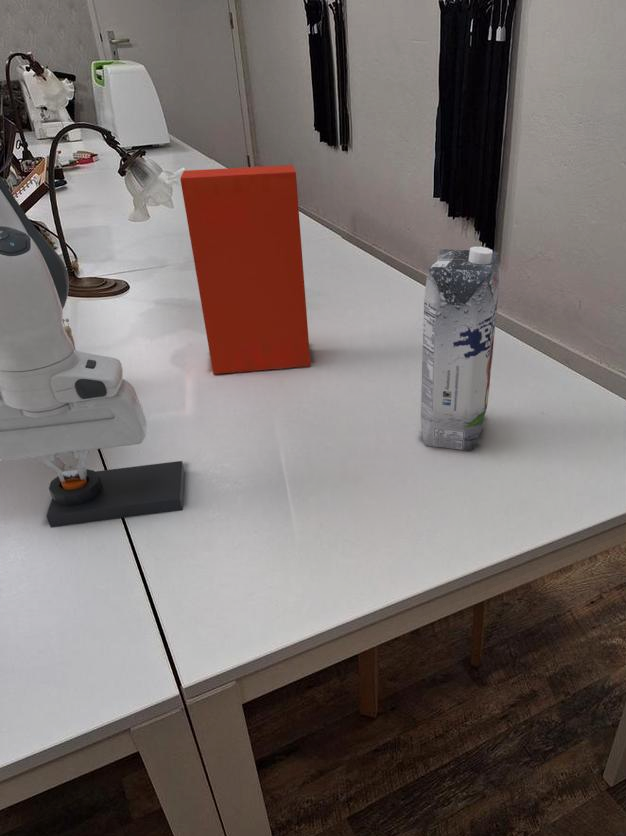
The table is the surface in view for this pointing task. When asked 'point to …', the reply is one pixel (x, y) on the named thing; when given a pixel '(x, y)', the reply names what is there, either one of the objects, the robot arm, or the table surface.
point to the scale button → (73, 484)
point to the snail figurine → (69, 332)
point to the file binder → (249, 266)
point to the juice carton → (458, 346)
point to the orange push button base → (118, 494)
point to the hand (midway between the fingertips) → (74, 478)
